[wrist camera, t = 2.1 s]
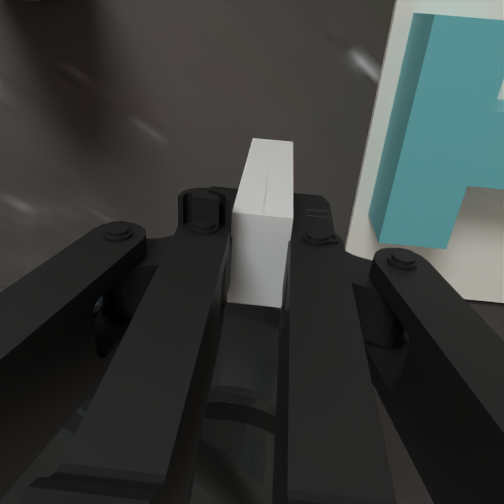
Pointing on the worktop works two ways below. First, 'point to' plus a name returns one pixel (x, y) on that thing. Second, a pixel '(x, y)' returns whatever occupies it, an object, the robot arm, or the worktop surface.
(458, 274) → the board
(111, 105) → the worktop surface
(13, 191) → the worktop surface
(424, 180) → the t block
